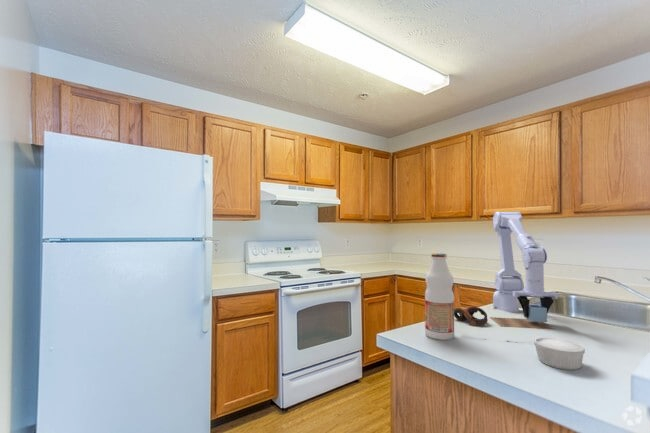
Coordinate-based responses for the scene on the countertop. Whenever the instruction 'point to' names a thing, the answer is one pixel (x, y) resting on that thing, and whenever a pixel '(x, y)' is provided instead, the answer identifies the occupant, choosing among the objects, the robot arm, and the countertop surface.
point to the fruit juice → (439, 300)
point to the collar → (537, 313)
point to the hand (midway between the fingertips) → (535, 317)
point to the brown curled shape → (471, 315)
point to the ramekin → (559, 353)
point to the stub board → (520, 323)
